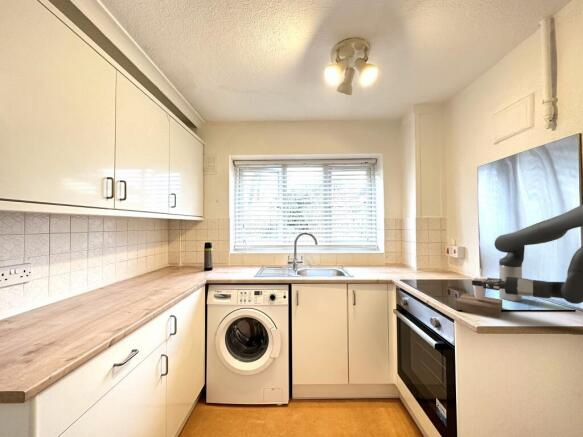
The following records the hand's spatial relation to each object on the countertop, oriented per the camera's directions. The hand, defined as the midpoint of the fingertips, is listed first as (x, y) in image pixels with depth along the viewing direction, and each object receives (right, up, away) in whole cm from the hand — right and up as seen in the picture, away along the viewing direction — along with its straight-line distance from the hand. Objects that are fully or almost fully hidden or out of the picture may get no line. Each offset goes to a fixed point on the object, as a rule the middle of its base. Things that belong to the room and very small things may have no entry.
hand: (473, 281), depth 132 cm
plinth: (+2, -13, -1) cm, 13 cm away
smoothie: (+2, -8, -1) cm, 8 cm away
